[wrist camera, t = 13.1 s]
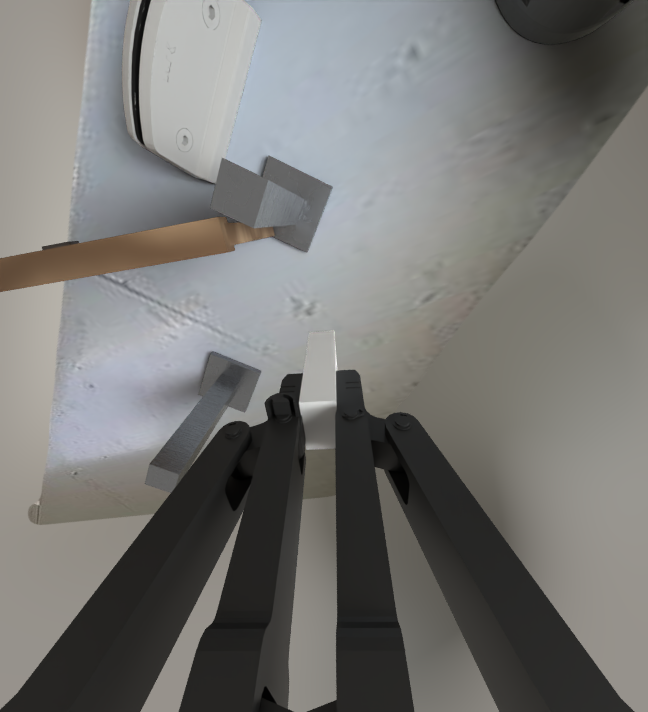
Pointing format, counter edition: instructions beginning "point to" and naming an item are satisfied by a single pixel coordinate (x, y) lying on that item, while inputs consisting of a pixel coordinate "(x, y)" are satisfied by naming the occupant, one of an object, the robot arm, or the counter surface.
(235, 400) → the gate frame
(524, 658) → the robot arm
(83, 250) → the gate leaf
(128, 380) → the counter surface
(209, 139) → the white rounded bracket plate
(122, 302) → the counter surface
